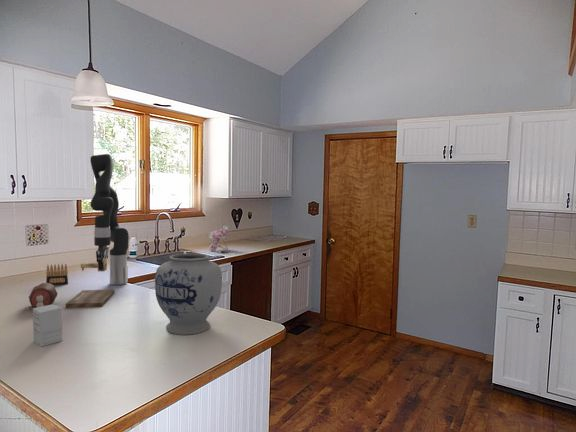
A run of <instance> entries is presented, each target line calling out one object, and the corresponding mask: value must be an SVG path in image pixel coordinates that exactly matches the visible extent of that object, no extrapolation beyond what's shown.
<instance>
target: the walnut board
mask: <svg viewBox="0 0 576 432" xmlns="http://www.w3.org/2000/svg"><path fill="white" fill-rule="evenodd" d="M115 291H116V289H86V290H85V289H82V290H81V291H80V292H79V293H77V294H76V295H75V296H73V297H72V298H71V299H69V300H68V301H67V302H65V305H64V306H65V309H73V308H74V309H76V308H79V309H80V308H102V307H104V306H105V304H106V303H107V302H108V301H109V300H110V299H111V298H112V297H113V296H114V295H115Z"/></svg>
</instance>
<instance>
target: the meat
mask: <svg viewBox="0 0 576 432" xmlns="http://www.w3.org/2000/svg"><path fill="white" fill-rule="evenodd" d="M57 296H58V292H57V289H56V286H55V285H52V284H50V283H46V282H42V283H39V284H38V285H36V286H34V287H32V290H31V292H30V294H29V296H28V299H29V303H30V305H31V308H32V309H33V308H37V307H42V306H47V305H52V304H54V302H55V300H56V299H57Z"/></svg>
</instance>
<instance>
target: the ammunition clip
mask: <svg viewBox="0 0 576 432" xmlns="http://www.w3.org/2000/svg"><path fill="white" fill-rule="evenodd" d="M45 273H46V276H45V277H46V282H45V283H50V284H52V285H54V286H60V285H61V286H63V285H68V284H69V277H68V275H69V274H68V264H67V263H65V264H63V263H61V266H60V263H58V264H57V265H56V263H54V265H53V264H52V263H51V264H50V266H49V264H47V265H46V272H45Z"/></svg>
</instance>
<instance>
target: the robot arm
mask: <svg viewBox="0 0 576 432" xmlns="http://www.w3.org/2000/svg"><path fill="white" fill-rule="evenodd" d="M90 166H91V169H92V172H93V177H94V178H95V186H94V194H93V196H92V199H91V201H90V208H91V209H92V210H93V211H96V212H98V211H99V212H100V211H101V212H102V213H103V214H100V215H99V214H98V215H96V216H95V217H94V230H93V231H94V232H93V234H94V235H93V236H94V238H93V239H94V240H93V241H94V242H93V244H94V246H96V247H97V249H96V251H95V258H96V263H98V268H97V270H98V269H99V270H103V262H104V258H107V260H108V259H109V285H112V286H119V285H121V286H122V285H127V283H128V282H129V281H128V279H129V275H128V274H129V271H128V270H129V266H128V263H127V262H128V257H127V256H128V250H129V239H130V235H129V231H128V230H127V228H125V227H120V226H119V221H118V212H119V206H120V203H119V198H118V193H117V192H116V190H115V189H114V188H113V187H112V186H111V179H112V176H113V172H114V166H115V165H114V160H113V157H112V155H111V154H109V153H106V154H97V155H96V154H95V155H91V156H90ZM101 172H103V173H101ZM111 242H112V243H113V247H112V248H111V249H110V247H109V246H110V245H111ZM109 249H110V250H109ZM100 258H101V260H100Z"/></svg>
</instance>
